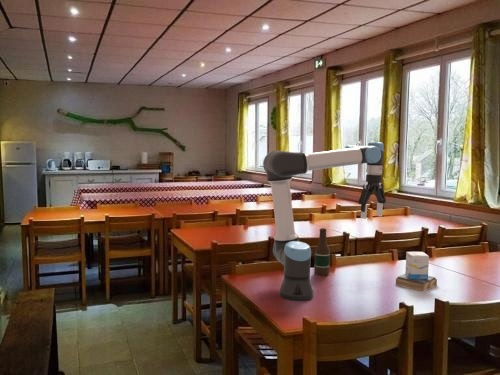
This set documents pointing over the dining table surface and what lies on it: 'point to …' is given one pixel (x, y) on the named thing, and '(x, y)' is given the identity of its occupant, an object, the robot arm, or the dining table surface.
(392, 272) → the dining table surface
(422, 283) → the plinth
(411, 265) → the ink box
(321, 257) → the beer bottle
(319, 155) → the robot arm
